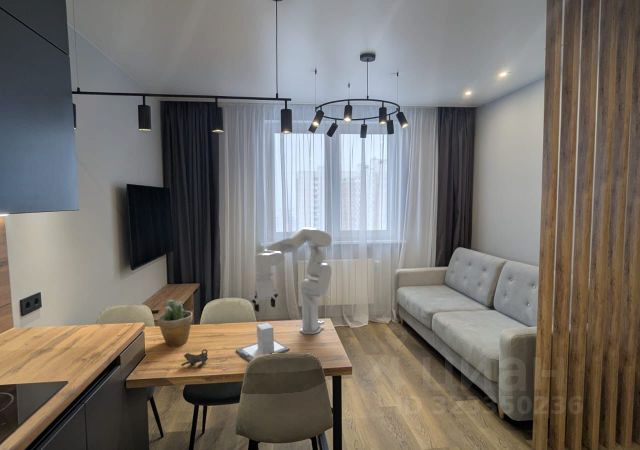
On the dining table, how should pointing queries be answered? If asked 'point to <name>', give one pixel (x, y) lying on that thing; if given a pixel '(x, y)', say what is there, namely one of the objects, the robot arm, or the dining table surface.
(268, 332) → the small box
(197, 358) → the dog figurine
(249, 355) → the writing board
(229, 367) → the dining table surface
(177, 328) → the potted plant
